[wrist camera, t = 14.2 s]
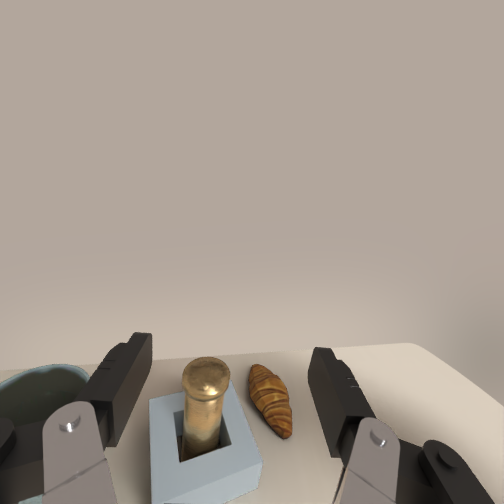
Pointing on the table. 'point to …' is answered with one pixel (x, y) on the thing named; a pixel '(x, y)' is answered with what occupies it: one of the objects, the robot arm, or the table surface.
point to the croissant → (271, 399)
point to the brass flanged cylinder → (203, 405)
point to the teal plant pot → (40, 396)
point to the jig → (205, 466)
